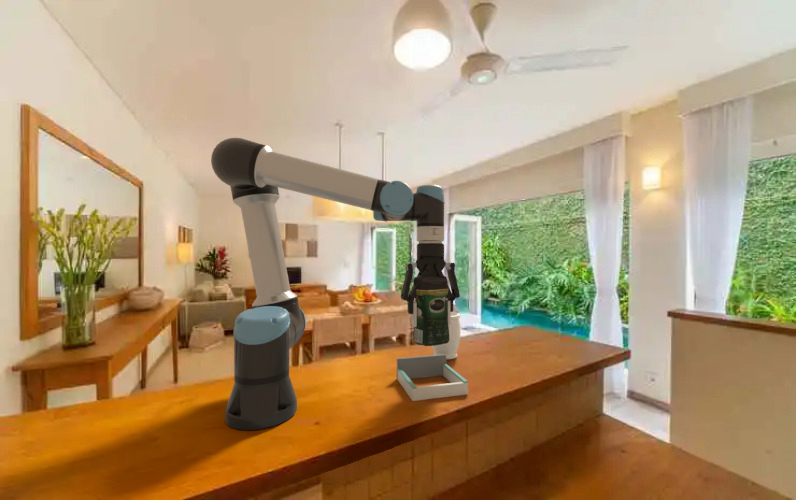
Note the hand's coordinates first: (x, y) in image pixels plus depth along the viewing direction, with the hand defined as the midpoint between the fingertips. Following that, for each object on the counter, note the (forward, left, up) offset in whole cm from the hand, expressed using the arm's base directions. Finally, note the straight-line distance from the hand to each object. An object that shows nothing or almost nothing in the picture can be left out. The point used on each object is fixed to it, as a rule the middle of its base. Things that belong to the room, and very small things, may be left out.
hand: (430, 324), depth 93 cm
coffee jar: (0, 0, -5) cm, 5 cm away
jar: (+14, +24, -17) cm, 32 cm away
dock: (0, 0, -17) cm, 17 cm away
